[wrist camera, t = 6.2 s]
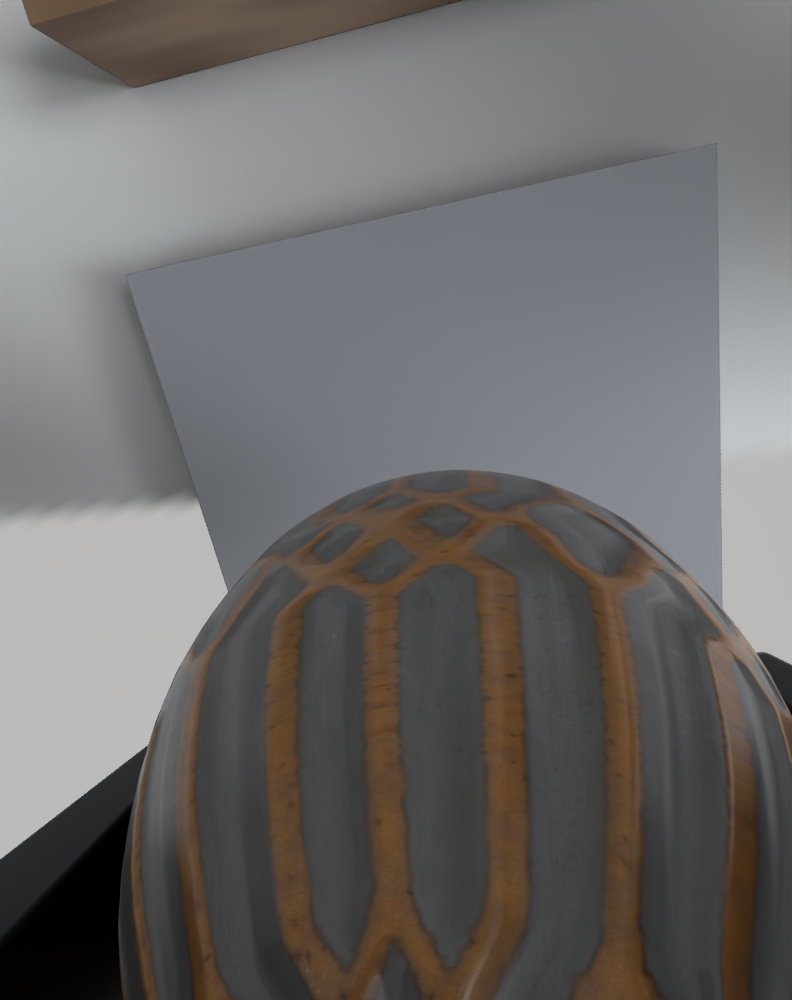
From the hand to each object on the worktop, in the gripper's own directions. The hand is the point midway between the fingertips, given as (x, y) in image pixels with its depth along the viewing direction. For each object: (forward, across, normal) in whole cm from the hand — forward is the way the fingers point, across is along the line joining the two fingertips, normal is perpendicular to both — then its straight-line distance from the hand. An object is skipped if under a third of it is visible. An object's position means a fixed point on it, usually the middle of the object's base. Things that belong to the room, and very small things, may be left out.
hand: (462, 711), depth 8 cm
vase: (+3, 0, 0) cm, 3 cm away
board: (+10, 0, 0) cm, 10 cm away
